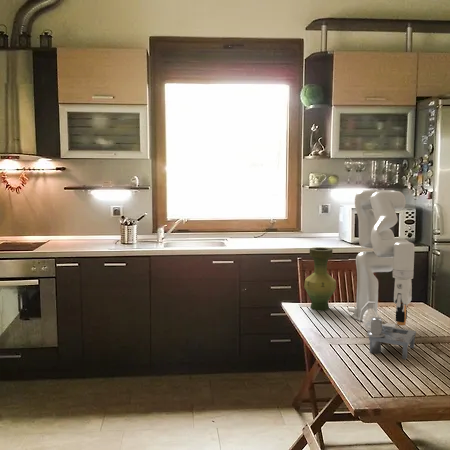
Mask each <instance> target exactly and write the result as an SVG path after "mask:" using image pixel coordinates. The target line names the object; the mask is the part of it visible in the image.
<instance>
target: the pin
mask: <svg viewBox="0 0 450 450" xmlns="http://www.w3.org/2000/svg"><path fill="white" fill-rule="evenodd" d="M401 304H403V302H401ZM406 310H407V309H406V305H404V312H405V321H404V322H397V321H396V325H398V326H403V327H404V326H406V322H407V321H406V320H407V319H406Z"/></svg>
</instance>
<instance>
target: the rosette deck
mask: <svg viewBox="0 0 450 450" xmlns="http://www.w3.org/2000/svg"><path fill="white" fill-rule="evenodd" d="M366 326H371V331H367V333H366V336H367V337H368V340H369V353H371V354H375V355H376V354H377V355H379V354H382V352H381V351H382V343H384V344H390V345H395V346H396V345H397V346H401V347H402V354H401V355H402V356H401V357H402V359H403V360H407V359H408V348H410V349H414V348H415V341H416V339H415V338H416V337H415V336H416V334H417V331H416V330H411V329H405V328H399V327H396V324H395V323H390V322H389V323H388V322H385V323H383V319H382V318H378V317H372V318H371V322H367V323H366Z"/></svg>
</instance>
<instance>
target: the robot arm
mask: <svg viewBox="0 0 450 450" xmlns="http://www.w3.org/2000/svg"><path fill="white" fill-rule="evenodd" d="M406 203H407V201H406V196H405V195H404V193H403V192H402V191H399V190H397V191H396V190H390V189H389V190H388V189H382V190H381V189H379V190H378V189H377V190H376V189H366V190H361V191H360V190H359V191H358V192H357V193H356V194H355V197H354V207H355V211H356V214H357V218H358V243H359V246H360V247H361V248H363V249H373V251H372V250H370V251H367V250H366V251H361V252H358V254H357V255H356V257H355V265H356V280H357V281H356V306H355V307H352V306H348V307H347V312H349V313H353V314H352V318H353V319H354V320H357V321H359V318H360V313H361V309H362V308H363V307H364V305H365V304H366V303H367V302H375V304H374V303H373V309H374V311H375V312H376V314H377V316H378V318H381V315H379V314H378V303H379V301H378V300H379V279H378V278H377V277H376V275H374V274H375V273H389V272H392V279H393V278H394V290H393V303H394V304H396V306H395V322H396V323H397V322H404V321H405V312H404V305H406V320H407V319H408V318H407V317H408V305H409V304H410V303H411V301H412V298H413V297H412V293H413V292H412V289H413V287H412V285H413V283H412V279H414V269H415V268H414V267H415V266H414V265H415V244H414V243H413V242H410V241H409V240H407V239H406V238H405V239H404V238H395V235H394V232H393V230H392V229H391V228H393V227H394V226H395V225H396V224H397V223H398V215H397V213H396V211H398V212H399V211H403V210H404V209H405V208H406ZM401 302H403V304H401ZM367 306H368V305H367ZM367 306H366V307H365V308H364V309H363V310H362V314H361V319H360V322H363V315H364V313H365V312H366V311H367V309H368V308H367ZM381 319H382V318H381Z"/></svg>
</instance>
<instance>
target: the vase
mask: <svg viewBox="0 0 450 450" xmlns="http://www.w3.org/2000/svg"><path fill="white" fill-rule="evenodd" d="M309 257H312V259H313V263H314V267H313V269H314V272H313V273H311V274H310V275H309V276H307V277H306V278H305V280H304V284H303V285H304V286H303V288H304V290H305V291H306V293H307V295H308V297H309V299H310V301H311V303H310V307H309V308H310V309H311V310H314V311H321V312H322V311H328V310H329V309H330V305H329V300H330V299H331V297H333V294H334V293H335V291H336V289H337V280H336V279H335V278H333V277H332V276H331V275H330V274H329V273H328V270H327V269H328V261H329V259H330V258H332V257H333V248H330V247H316V246H315V247H310V248H309Z"/></svg>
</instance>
